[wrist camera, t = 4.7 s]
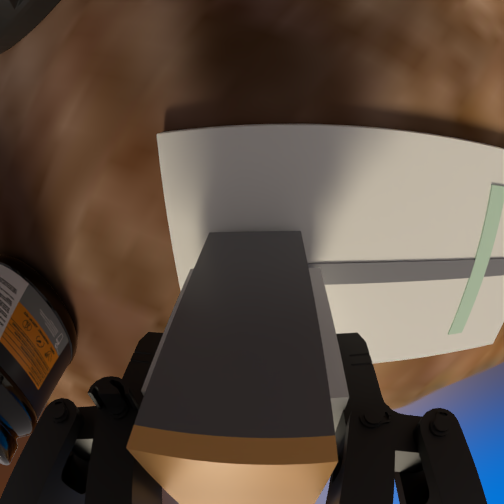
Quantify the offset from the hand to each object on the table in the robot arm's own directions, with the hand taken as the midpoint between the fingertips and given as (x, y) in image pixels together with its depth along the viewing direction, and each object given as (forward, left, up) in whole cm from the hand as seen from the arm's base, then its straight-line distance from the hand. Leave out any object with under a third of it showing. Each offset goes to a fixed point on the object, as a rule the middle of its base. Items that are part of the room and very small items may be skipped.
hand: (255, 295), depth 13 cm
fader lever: (0, 0, -1) cm, 1 cm away
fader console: (0, +7, -3) cm, 7 cm away
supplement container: (+4, -18, -3) cm, 19 cm away
